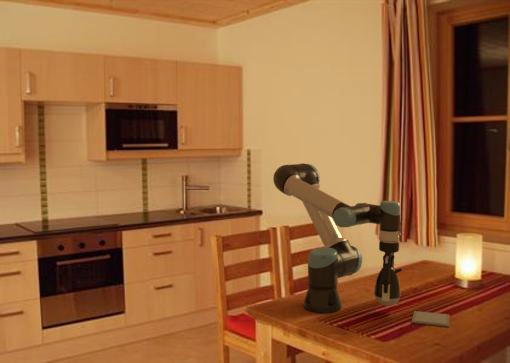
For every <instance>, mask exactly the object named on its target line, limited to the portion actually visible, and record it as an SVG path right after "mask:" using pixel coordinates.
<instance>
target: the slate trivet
mask: <svg viewBox="0 0 510 363" xmlns="http://www.w3.org/2000/svg"><path fill="white" fill-rule="evenodd" d="M411 324H415V325H416V324H417V325H425V326H434V327H444V328H449V326H450V314H449V313H448V314H447V313H438V312H430V311H429V312H427V311H418V310H414V311H413V315H412V318H411Z"/></svg>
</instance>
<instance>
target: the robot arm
mask: <svg viewBox="0 0 510 363" xmlns="http://www.w3.org/2000/svg"><path fill="white" fill-rule="evenodd" d="M320 178H321V176H320V173H319V170H318V168H316V166H314V165H312V164H311V163H297V164H296V163H295V164H284V165H281V166H279V167H278V168H277V169H276V170H275V172H274V173H273V178H272V179H273V181H272V182H273V184H274V186H275V188H276V189H277V190H278V191H279V192H281V193H282V194H284V195H286V196H288V197H291V196H293V197H294V198H296V199H297V200H299V201H301V202H302V204H303V206H304V208H305V210H306V212H307V214H308V216H309V218H310V220H311V221H312V225H313V226H314V228H315V230H316V232H317V234H318V235H319V238H320V240H321V242H322V244H323V246H324V247H321V248H320V247H319V248H315V249H312V250H310V252H309V253H308V258H307V291H306V293H305V297H304V300H303V308H304V309H305V310H306V311H310V312H313V313H319V314H321V313H322V314H323V313H326V314H327V313H329V314H330V313H336V312H338V311H341V310H342V301H341V296H340V293H339V291H338V279H340V278H341V279H342V278H344V277H349V276H352V275H353V274H356V273H358V272H359V271H360V270H361V268H362V264H363V255H362V253H361V251H360V249H358V247H355V246H354V245H351V243H350V241H349V239H346V238H345V237H343V236H342V233H341V232H340V230H339V228H350V227H354V226H359V225H364V224H374V225H379V234H378V236H379V243H378V244H379V245H378V246H379V247H378V249H379V251H380V252H381V253H384V254H383V256H382V268H383V275H382V282H381V284H382V301H389V299H390V283H389V282H390V271H391V268H392V267H393V268H394V269H395V253H398V252H399V251H400V236H402V233H401V232H400V223H401V204H400V202H398V201H395V200H382V201H381V202H380V203H379V204H380V205H379V204H372V203H367V202H362V203H361V202H358V203H357V202H356V204H355V205H352V206H351V205H349V204H347V203H345V202H343V201H342V200H339V199H338V198H335V197H334V196H332V195H330V194H328V193H326V192H324V191H322V190H321V189H320V187H321V186H320ZM384 280H385V281H384Z"/></svg>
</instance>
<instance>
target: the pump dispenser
mask: <svg viewBox="0 0 510 363" xmlns="http://www.w3.org/2000/svg"><path fill="white" fill-rule="evenodd" d="M402 271H403V269H402V268H397V269H395V267H394V268H393V267H392V268H391V271H390V282H389V283H390V299H389V301H382V284H381V282H382V275H383V267H382V268H381V269H380V271H379V272H378V273H377V274H378V275H377V277H376V278H375V279H376V280H375V284H374V289H373V295H374V298H375V300H376V301H377V303H379V304H381V305H382V306H387V307H389V306H394V305H396V304H398V302H399V301H400V297H401V296H402V295H401V292H402V291H401V283H400V279H399V276H398V273H401V272H402ZM384 281H385V280H384Z"/></svg>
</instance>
